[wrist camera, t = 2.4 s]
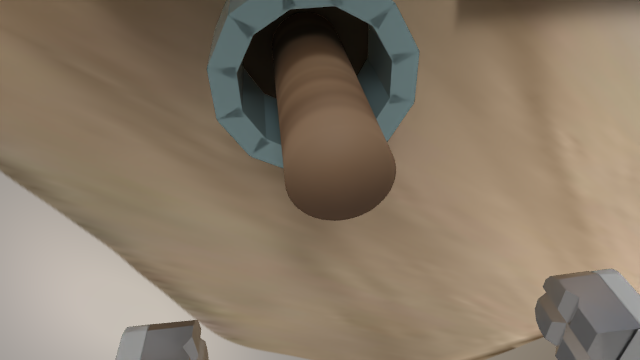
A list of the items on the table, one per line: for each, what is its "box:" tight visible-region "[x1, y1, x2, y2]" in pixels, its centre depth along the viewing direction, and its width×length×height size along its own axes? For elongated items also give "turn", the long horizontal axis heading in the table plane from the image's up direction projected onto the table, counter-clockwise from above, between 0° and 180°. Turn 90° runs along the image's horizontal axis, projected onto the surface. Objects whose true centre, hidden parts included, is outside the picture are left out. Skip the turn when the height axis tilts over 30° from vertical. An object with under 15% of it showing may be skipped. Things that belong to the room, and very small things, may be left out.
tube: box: [207, 0, 419, 168], centre depth 22 cm, size 9×9×5 cm
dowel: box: [272, 12, 396, 221], centre depth 19 cm, size 4×4×12 cm
